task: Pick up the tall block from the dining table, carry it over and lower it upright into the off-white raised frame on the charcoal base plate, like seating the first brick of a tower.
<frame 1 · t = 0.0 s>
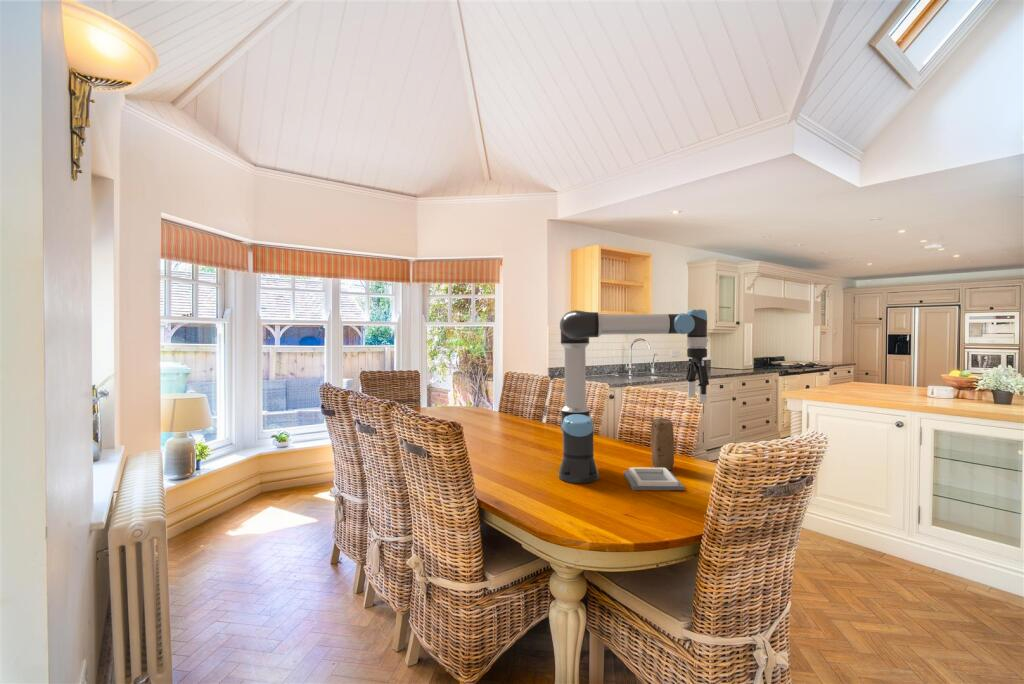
hand: (696, 399, 191), 28 cm above the table, tool pointing down, fingers open, 13 cm apart
block: (661, 468, 192), on the table
base plate: (652, 482, 175), on the table
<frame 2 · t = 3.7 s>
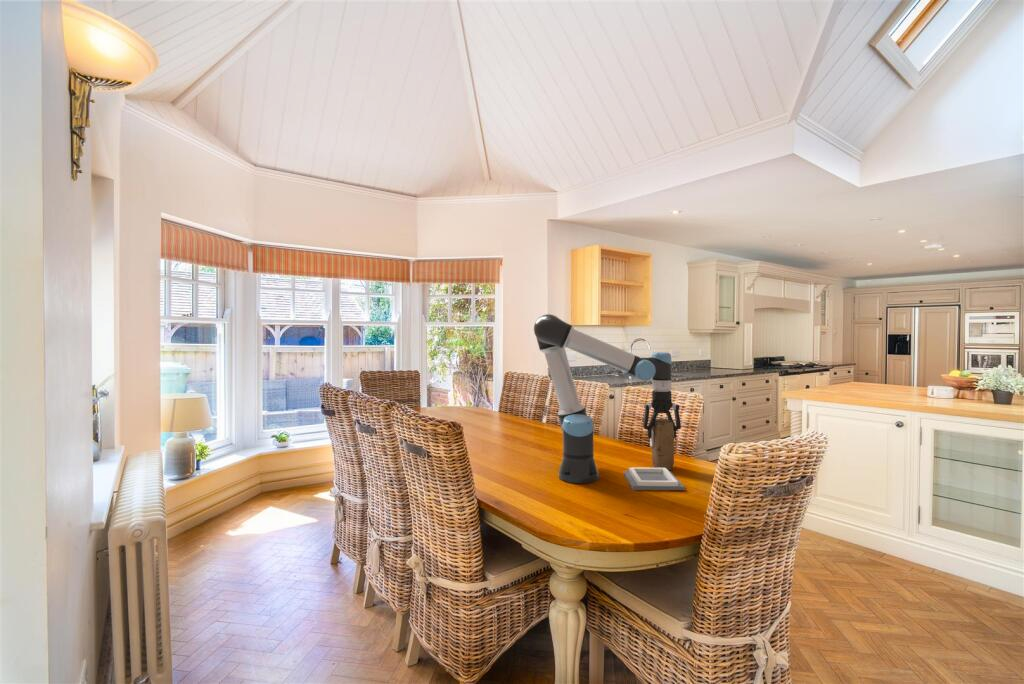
hand: (661, 445, 192), 9 cm above the table, tool pointing down, fingers closed on block, 7 cm apart
block: (661, 468, 192), on the table, touching gripper
when the fingers open (12 cm above the table, at t = 9.9 s): block stays where it is, resting on base plate.
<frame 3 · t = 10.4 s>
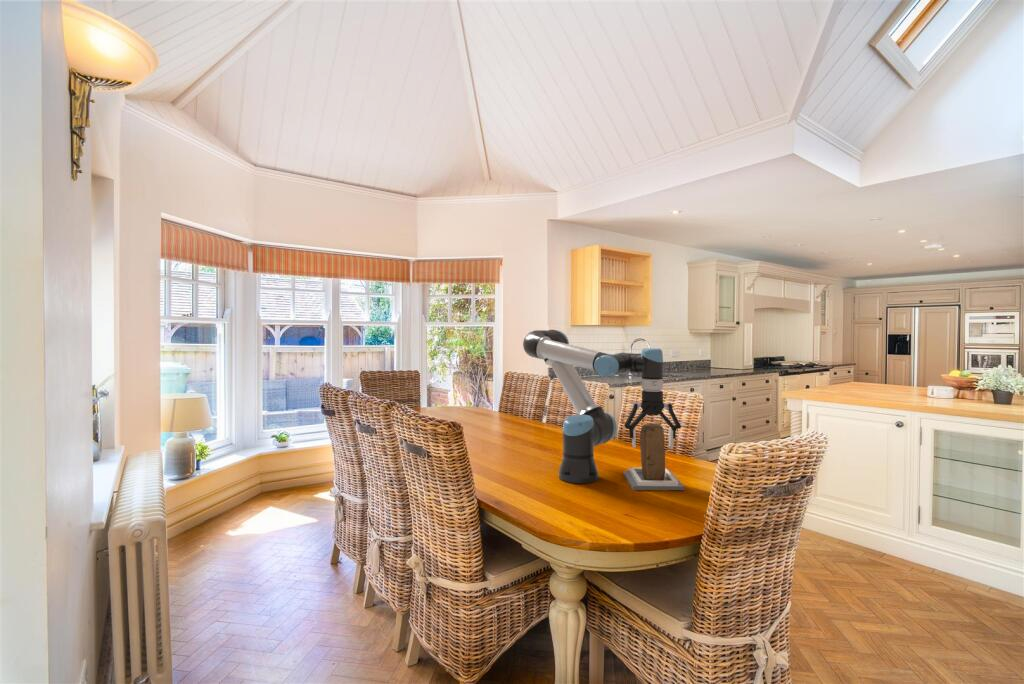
hand: (652, 447, 174), 13 cm above the table, tool pointing down, fingers open, 13 cm apart
block: (652, 478, 175), point 1 cm above the table, touching base plate
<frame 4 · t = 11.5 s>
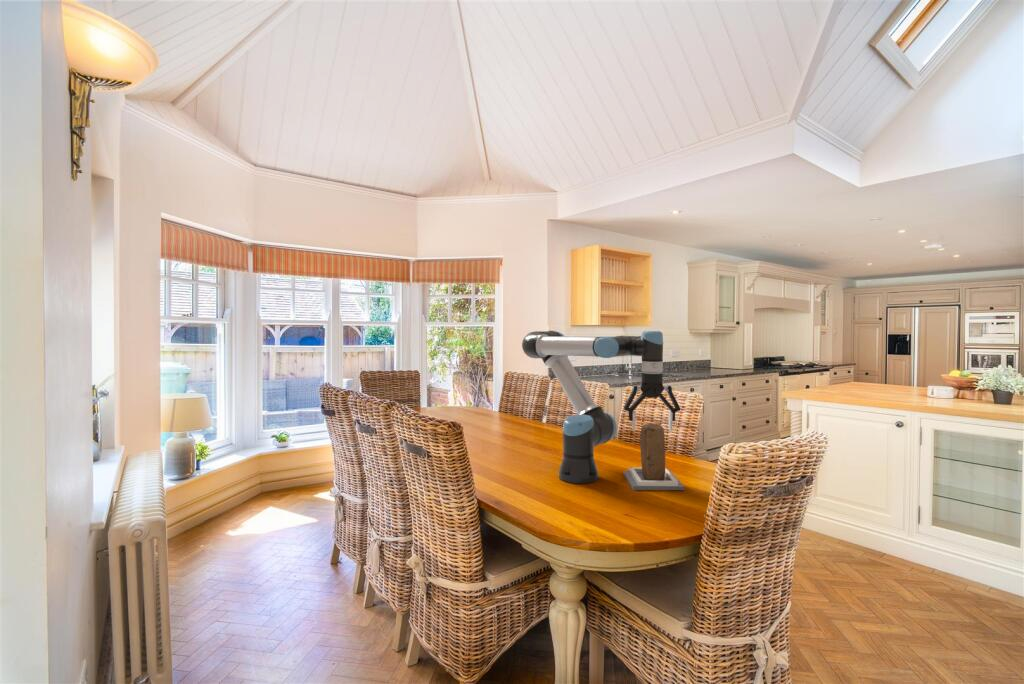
hand: (651, 429, 174), 20 cm above the table, tool pointing down, fingers open, 13 cm apart
nothing on the table moved.
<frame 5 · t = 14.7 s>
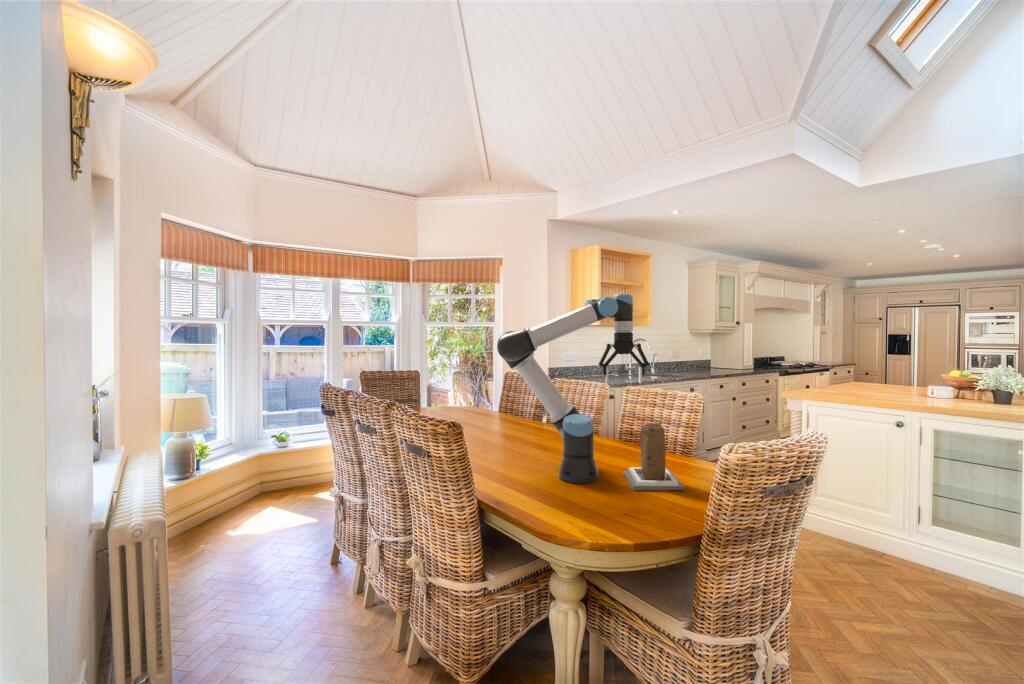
hand: (623, 383, 194), 35 cm above the table, tool pointing down, fingers open, 13 cm apart
nothing on the table moved.
at the end: block 0.0 cm off-centre on the base plate, point 1.3 cm above the base plate's base; block tilted 0°; the gripper is holding nothing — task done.
